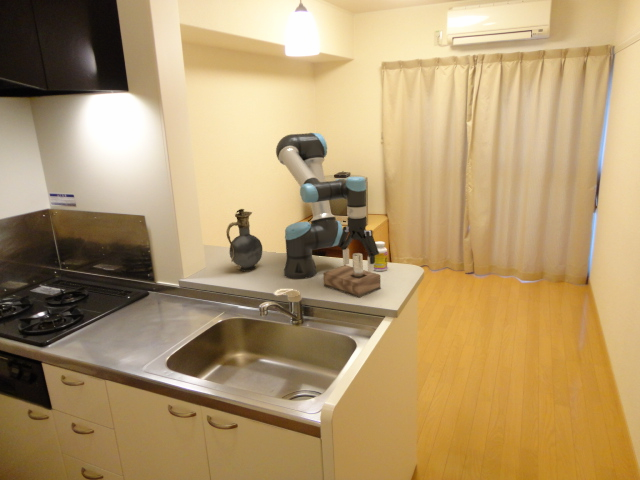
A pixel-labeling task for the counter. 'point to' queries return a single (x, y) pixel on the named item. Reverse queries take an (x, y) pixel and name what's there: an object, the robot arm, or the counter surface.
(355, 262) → the pin
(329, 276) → the socket block
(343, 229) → the robot arm
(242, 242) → the pitcher
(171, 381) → the counter surface
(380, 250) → the supplement bottle
